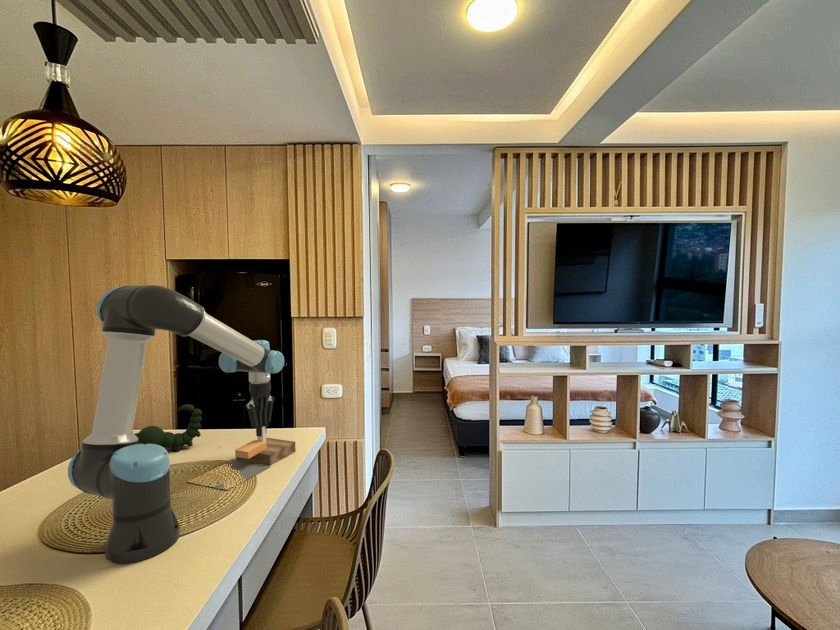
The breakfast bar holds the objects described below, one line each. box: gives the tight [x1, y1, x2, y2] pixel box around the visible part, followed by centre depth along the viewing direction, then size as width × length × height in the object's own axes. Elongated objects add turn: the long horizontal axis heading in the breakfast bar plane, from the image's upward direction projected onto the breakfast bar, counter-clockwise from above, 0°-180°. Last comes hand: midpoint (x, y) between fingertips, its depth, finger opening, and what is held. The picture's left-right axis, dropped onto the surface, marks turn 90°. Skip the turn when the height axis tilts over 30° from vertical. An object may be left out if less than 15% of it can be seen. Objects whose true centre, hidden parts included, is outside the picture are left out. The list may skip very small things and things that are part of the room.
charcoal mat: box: [209, 459, 271, 491], centre depth 139 cm, size 19×18×1 cm
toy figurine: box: [134, 403, 203, 452], centre depth 161 cm, size 9×19×25 cm
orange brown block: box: [234, 439, 267, 459], centre depth 148 cm, size 9×6×2 cm, turn 158°
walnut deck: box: [235, 437, 297, 467], centre depth 155 cm, size 14×16×4 cm
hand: (261, 443), depth 153 cm, fingers closed
